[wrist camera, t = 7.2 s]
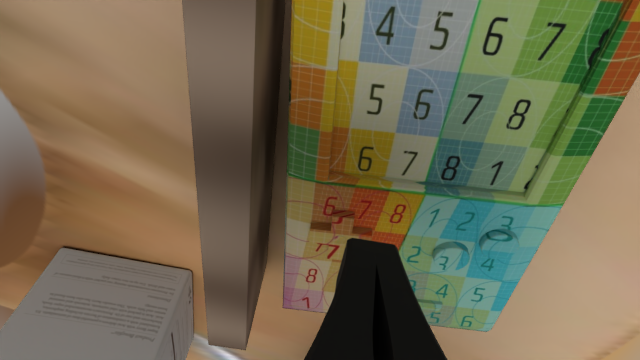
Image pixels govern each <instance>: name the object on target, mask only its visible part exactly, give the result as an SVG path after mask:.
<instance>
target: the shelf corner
mask: <svg viewBox="0 0 640 360" xmlns="http://www.w3.org/2000/svg"><path fill="white" fill-rule="evenodd" d="M182 5H183V18H184V31H185V44H186V57H187V70H188V83H189V96H190V109H191V122H192V135H193V148H194V161H195V174H196V187H197V200H198V213H199V226H200V239H201V252H202V265H203V278H204V291H205V304H206V317H207V330H208V343H209V345H214V346H221V347H228V348H234V349H241V350H246V347H247V343H248V339H249V334H250V330H251V326H252V322H253V318H254V314H255V309H256V305H257V301H258V297H259V293H260V289H261V284H262V280H263V276H264V272H265V268H266V263H267V250H268V236H269V223H270V209H271V195H272V181H273V167H274V153H275V139H276V125H277V111H278V97H279V83H280V70H281V56H282V42H283V28H284V14H285V0H182Z"/></svg>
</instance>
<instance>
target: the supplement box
mask: <svg viewBox="0 0 640 360" xmlns="http://www.w3.org/2000/svg"><path fill="white" fill-rule="evenodd" d="M192 340H193V293H192V272H191V271H190V270H185V269H179V268H173V267H168V266H162V265H157V264H151V263H145V262H140V261H134V260H129V259H123V258H118V257H112V256H107V255H101V254H96V253H90V252H85V251H79V250H73V249H68V248H61V249H60V250H59V251H58V253H57V254H56V255H55V257H54V258H53V259H52V261H51V262H50V264H49V265H48V266H47V268H46V269H45V270H44V272H43V273H42V274H41V276H40V277H39V278H38V280H37V281H36V282H35V284H34V285H33V287H32V288H31V289H30V291H29V292H28V293H27V295H26V296H25V297H24V299H23V300H22V302H21V303H20V304H19V306H18V307H17V308H16V310H15V311H14V312H13V314H12V315H11V316H10V318H9V319H8V320H7V322H6V323H5V324H4V326H3V328H2V329H1V330H0V360H185V359H186V357H187V354H188V351H189V348H190V345H191V342H192Z"/></svg>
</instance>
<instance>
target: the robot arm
mask: <svg viewBox="0 0 640 360" xmlns="http://www.w3.org/2000/svg"><path fill="white" fill-rule="evenodd" d="M304 360H447V358H446V357H445V355H444V353H443V351H442V349H441V347H440V345H439V344H438V342H437V340H436V338H435V336H434V334H433V332H432V330H431V328H430V326H429V324H428V322H427V320H426V318H425V316H424V313H423V311H422V309H421V307H420V305H419V303H418V300H417V298H416V296H415V294H414V291H413V289H412V286H411V284H410V281H409V279H408V276H407V274H406V271H405V269H404V266H403V263H402V260H401V257H400V255H399V251H398V248H397V247H396V246H395V245H394V244H388V243H382V242H376V241H369V240H363V239H357V238H350V239H348V240H347V243H346V247H345V250H344V254H343V258H342V261H341V265H340V269H339V273H338V276H337V280H336V288H335V294H334V297H333V300H332V302H331V305H330V307H329V309H328V312H327V314H326V316H325V318H324V321H323V323H322V325H321V327H320V329H319V332H318V334H317V336H316V338H315V340H314V342H313V344H312V346H311V347H310V349H309V351H308V353H307V355H306V357H305V359H304Z"/></svg>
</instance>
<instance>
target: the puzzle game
mask: <svg viewBox="0 0 640 360" xmlns="http://www.w3.org/2000/svg"><path fill="white" fill-rule="evenodd" d="M639 73H640V0H292V7H291V42H290V76H289V111H288V146H287V181H286V216H285V251H284V286H283V308H288V309H296V310H305V311H313V312H322V313H327V312H328V309H329V307H330V305H331V302H332V300H333V297H334V294H335V288H336V280H337V276H338V273H339V269H340V265H341V261H342V258H343V254H344V250H345V247H346V243H347V240H348V239H350V238H357V239H363V240H369V241H376V242H382V243H388V244H394V245H395V246H396V247H397V248H398V251H399V255H400V257H401V260H402V263H403V266H404V269H405V271H406V274H407V276H408V279H409V281H410V284H411V286H412V289H413V291H414V294H415V296H416V298H417V300H418V303H419V305H420V307H421V309H422V311H423V313H424V316H425V318H426V320H427V322H428V324H429V325H433V326H442V327H450V328H459V329H467V330H476V331H484V332H487V331H489V330H491V329H492V327H493V325H494V324H495V322H496V320H497V318H498V317H499V315H500V313H501V311H502V310H503V308H504V306H505V305H506V303H507V301H508V299H509V298H510V296H511V294H512V292H513V291H514V289H515V287H516V286H517V284H518V282H519V280H520V279H521V277H522V275H523V273H524V272H525V270H526V268H527V266H528V265H529V263H530V261H531V260H532V258H533V256H534V254H535V253H536V251H537V249H538V247H539V246H540V244H541V242H542V241H543V239H544V237H545V235H546V234H547V232H548V230H549V228H550V227H551V225H552V223H553V221H554V220H555V218H556V216H557V215H558V213H559V211H560V209H561V208H562V206H563V204H564V202H565V201H566V199H567V197H568V196H569V194H570V192H571V190H572V189H573V187H574V185H575V183H576V182H577V180H578V178H579V176H580V175H581V173H582V171H583V170H584V168H585V166H586V164H587V163H588V161H589V159H590V157H591V156H592V154H593V152H594V150H595V149H596V147H597V145H598V144H599V142H600V140H601V138H602V137H603V135H604V133H605V131H606V130H607V128H608V126H609V125H610V123H611V121H612V119H613V118H614V116H615V114H616V112H617V111H618V109H619V107H620V105H621V104H622V102H623V100H624V99H625V97H626V95H627V93H628V92H629V90H630V88H631V86H632V85H633V83H634V81H635V80H636V78H637V76H638V74H639Z"/></svg>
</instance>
